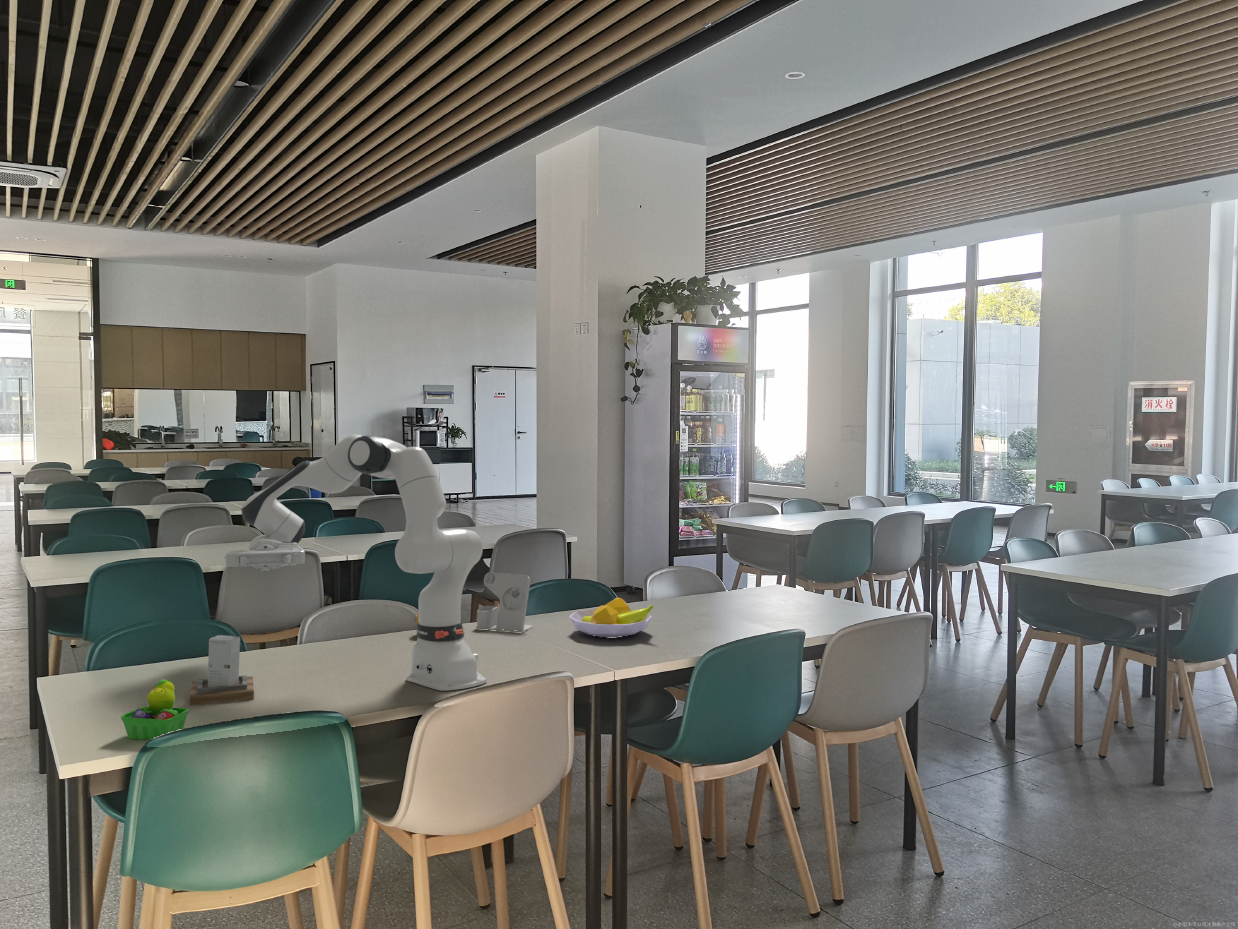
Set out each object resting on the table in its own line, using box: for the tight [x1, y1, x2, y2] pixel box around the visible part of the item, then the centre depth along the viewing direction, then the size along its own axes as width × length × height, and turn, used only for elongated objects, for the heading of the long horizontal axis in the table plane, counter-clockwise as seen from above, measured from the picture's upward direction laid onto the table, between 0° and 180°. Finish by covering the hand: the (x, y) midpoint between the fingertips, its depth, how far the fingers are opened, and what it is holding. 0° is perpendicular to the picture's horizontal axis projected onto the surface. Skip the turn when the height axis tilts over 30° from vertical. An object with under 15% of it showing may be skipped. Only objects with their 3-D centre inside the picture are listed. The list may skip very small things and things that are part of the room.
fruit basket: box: [120, 679, 190, 741], centre depth 190 cm, size 11×9×11 cm
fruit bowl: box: [568, 597, 654, 638], centre depth 291 cm, size 28×27×11 cm
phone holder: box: [475, 571, 533, 633], centre depth 298 cm, size 17×10×18 cm, turn 73°
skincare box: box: [207, 634, 241, 687], centre depth 220 cm, size 6×4×12 cm
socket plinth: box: [189, 675, 255, 706], centre depth 220 cm, size 14×14×3 cm
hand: (266, 561), depth 240 cm, fingers open, 8 cm apart
